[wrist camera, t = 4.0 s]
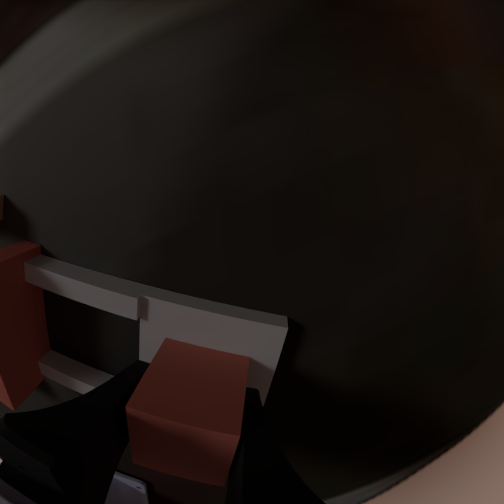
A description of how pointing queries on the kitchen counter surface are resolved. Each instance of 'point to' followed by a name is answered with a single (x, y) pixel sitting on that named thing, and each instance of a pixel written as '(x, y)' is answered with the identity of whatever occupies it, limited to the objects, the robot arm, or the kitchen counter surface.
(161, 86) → the kitchen counter surface
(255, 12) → the kitchen counter surface
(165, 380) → the white rails red ends
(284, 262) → the kitchen counter surface
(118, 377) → the robot arm
